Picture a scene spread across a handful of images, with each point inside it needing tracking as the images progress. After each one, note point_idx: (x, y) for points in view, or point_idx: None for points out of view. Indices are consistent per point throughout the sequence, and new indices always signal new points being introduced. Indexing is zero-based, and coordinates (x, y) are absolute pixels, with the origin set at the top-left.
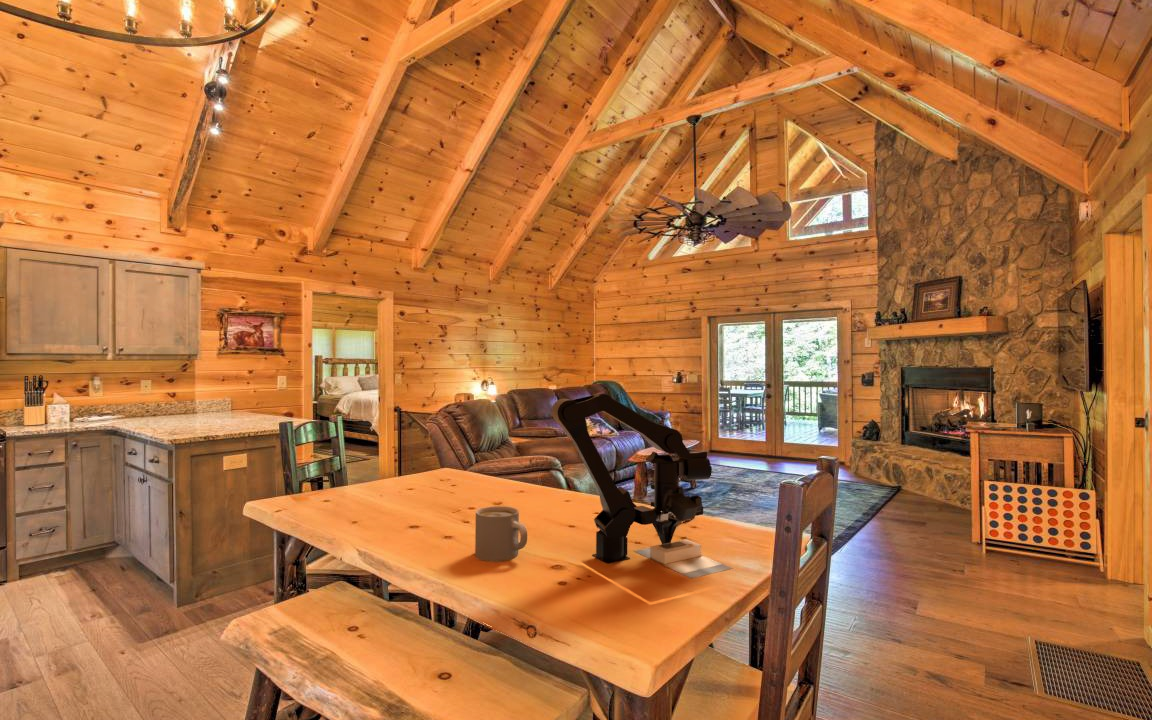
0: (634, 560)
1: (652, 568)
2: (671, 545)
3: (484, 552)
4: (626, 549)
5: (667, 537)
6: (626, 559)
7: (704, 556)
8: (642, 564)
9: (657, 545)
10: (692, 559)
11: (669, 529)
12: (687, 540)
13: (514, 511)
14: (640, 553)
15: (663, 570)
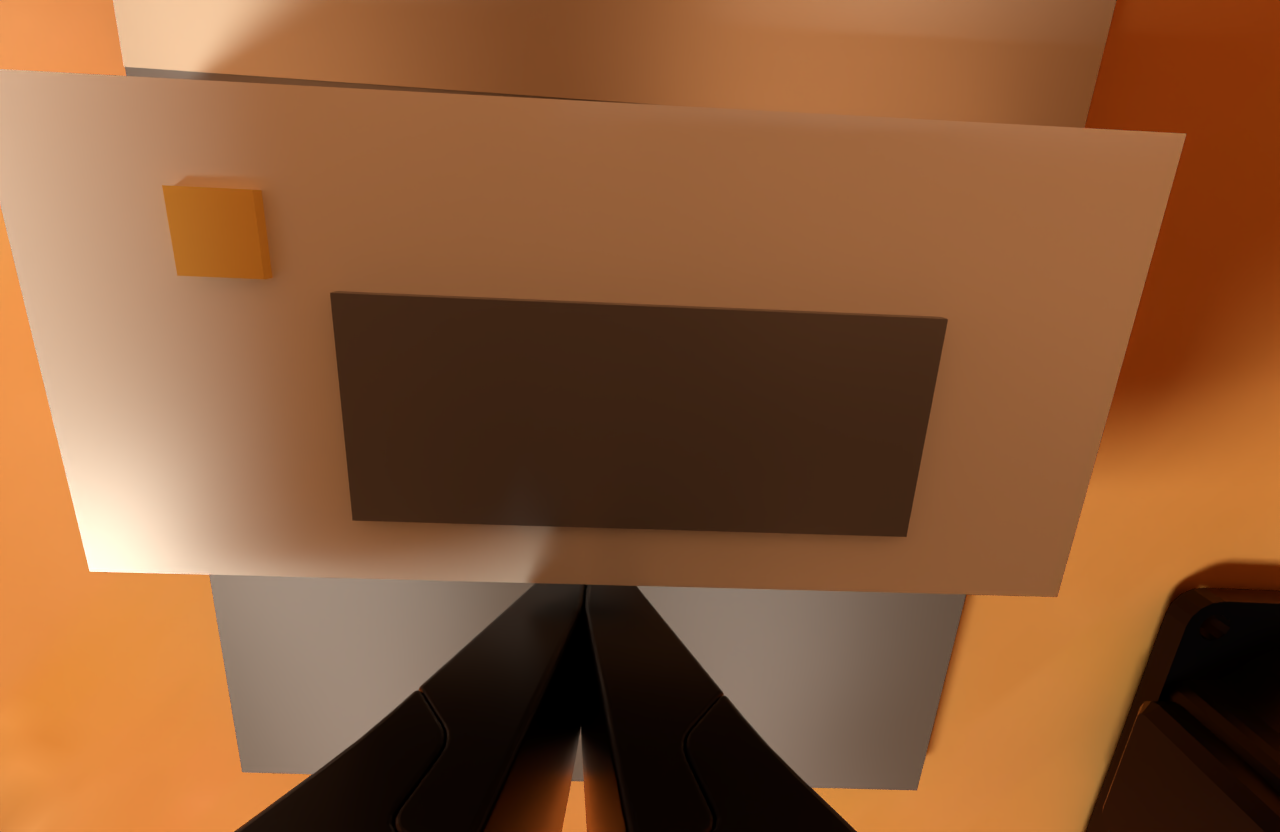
0: (1109, 575)
1: (1205, 202)
2: (694, 410)
3: None
4: (1234, 763)
5: (629, 658)
6: (1267, 601)
7: (124, 40)
8: (1163, 410)
9: (893, 578)
10: (446, 47)
11: None
12: (111, 507)
13: None
14: (921, 683)
15: (1163, 25)
